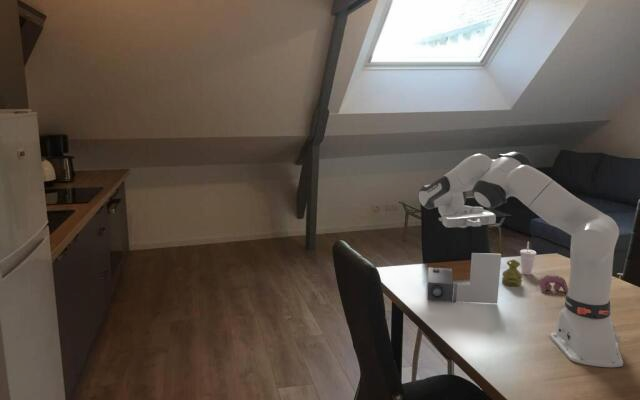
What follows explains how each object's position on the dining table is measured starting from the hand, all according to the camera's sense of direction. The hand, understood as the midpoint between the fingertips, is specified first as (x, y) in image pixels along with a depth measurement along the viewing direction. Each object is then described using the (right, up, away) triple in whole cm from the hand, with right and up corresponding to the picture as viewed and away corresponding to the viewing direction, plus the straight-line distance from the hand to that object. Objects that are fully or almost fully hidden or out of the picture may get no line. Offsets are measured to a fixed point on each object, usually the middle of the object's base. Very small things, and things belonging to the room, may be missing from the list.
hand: (477, 224), depth 183 cm
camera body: (-13, -26, +6) cm, 30 cm away
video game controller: (+32, -26, +8) cm, 42 cm away
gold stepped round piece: (+18, -25, +14) cm, 34 cm away
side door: (-2, -28, -4) cm, 29 cm away
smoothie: (+29, -22, +26) cm, 45 cm away
